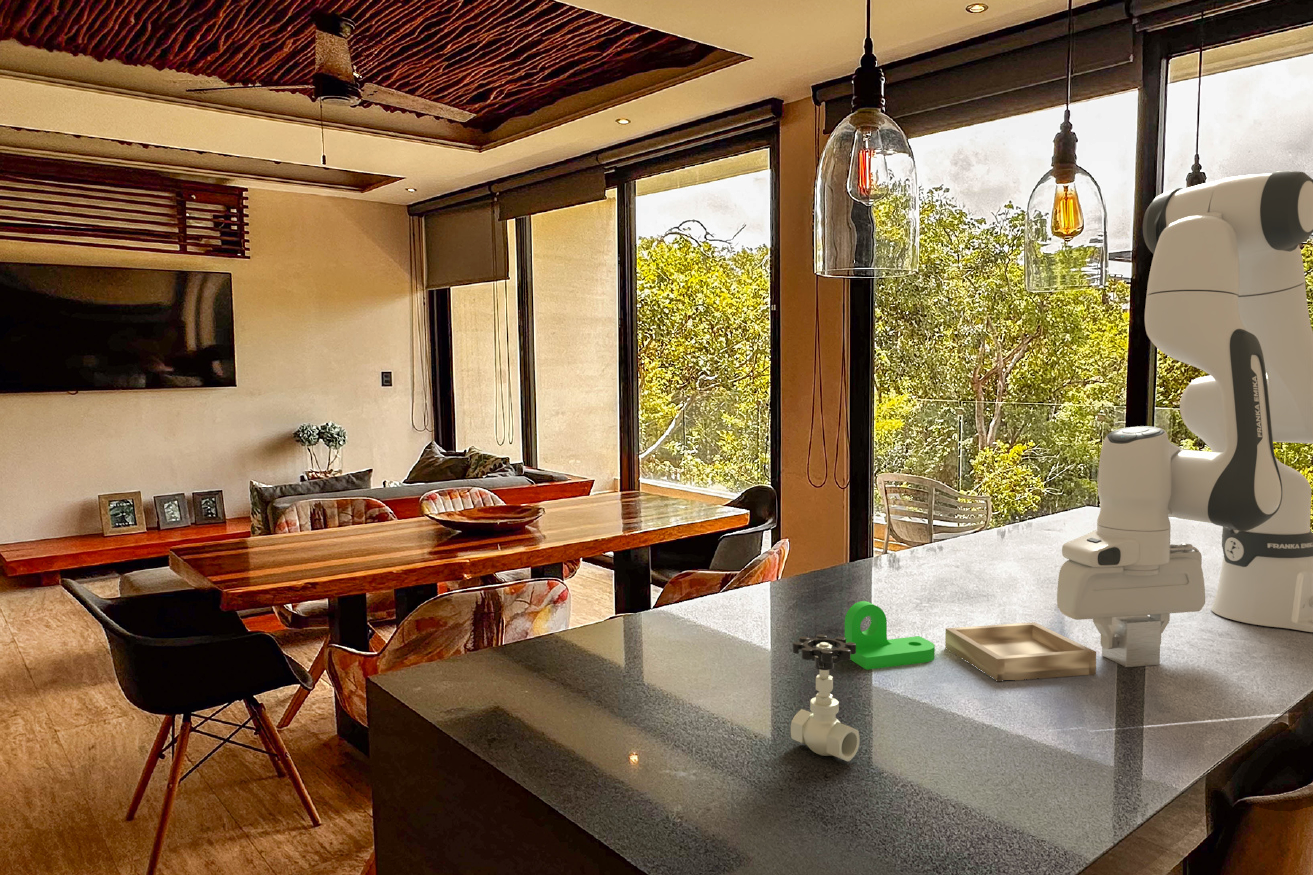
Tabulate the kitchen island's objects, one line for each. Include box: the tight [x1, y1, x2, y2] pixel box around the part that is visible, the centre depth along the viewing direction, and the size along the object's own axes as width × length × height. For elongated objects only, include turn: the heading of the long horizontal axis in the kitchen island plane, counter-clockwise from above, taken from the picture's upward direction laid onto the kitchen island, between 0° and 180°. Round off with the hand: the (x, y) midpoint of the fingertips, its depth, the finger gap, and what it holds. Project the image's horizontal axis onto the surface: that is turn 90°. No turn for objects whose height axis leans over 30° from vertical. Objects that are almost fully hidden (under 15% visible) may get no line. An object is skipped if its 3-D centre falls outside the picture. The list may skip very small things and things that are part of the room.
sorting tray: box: [944, 621, 1097, 682], centre depth 123 cm, size 14×14×3 cm
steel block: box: [1101, 615, 1161, 668], centre depth 122 cm, size 5×5×6 cm
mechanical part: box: [844, 600, 936, 670], centre depth 124 cm, size 12×6×8 cm, turn 106°
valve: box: [790, 634, 860, 762], centre depth 94 cm, size 7×7×12 cm
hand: (1130, 646), depth 122 cm, fingers closed on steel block, 5 cm apart
